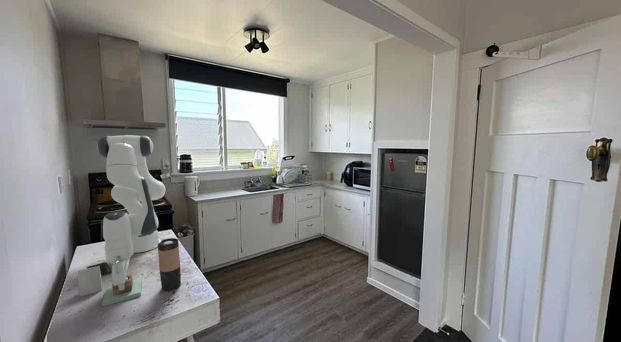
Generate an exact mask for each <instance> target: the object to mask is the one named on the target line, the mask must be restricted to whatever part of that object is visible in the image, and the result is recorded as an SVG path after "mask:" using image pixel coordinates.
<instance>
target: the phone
mask: <svg viewBox="0 0 621 342" xmlns="http://www.w3.org/2000/svg"><path fill="white" fill-rule="evenodd" d="M97 266H100V271H101V278H102V277H105V276H108V275H111V274H112V269H111V268H110V266H109V263H108V262H107V261H103V262H100V263H97V264H92V265H89V266H86V269H88V268H92V267H97Z"/></svg>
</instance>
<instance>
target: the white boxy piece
mask: <svg viewBox="0 0 621 342" xmlns="http://www.w3.org/2000/svg"><path fill="white" fill-rule="evenodd" d="M77 281H78V284H77V285H78V289H79V297H83V296H88V295H90V294H94V293H98V292H100V291H103V280H102V277H101V271H100V266H97V267H92V268H88V269H87V268H84V269H81V270H77Z"/></svg>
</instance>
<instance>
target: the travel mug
mask: <svg viewBox="0 0 621 342" xmlns="http://www.w3.org/2000/svg"><path fill="white" fill-rule="evenodd" d="M157 251H158V252H157V253H158V266H159V267H158V268H159V277H160V278H159V279H160V284H161V290H162V292H171V291H175V290H177V289H179V288H180V287H181V284H182V283H181V281H182V280H181V279H182V277H181V274H182V273H181V259H180V258H181V257H180V247H179V239H178V238H174V237H173V238H172V237H171V238H170V237H169V238H166V239H165V238H164V239H162V240H161V242H160V243H158V247H157Z"/></svg>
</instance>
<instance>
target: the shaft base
mask: <svg viewBox="0 0 621 342" xmlns="http://www.w3.org/2000/svg"><path fill="white" fill-rule="evenodd" d="M126 280H128V277H127V278H126ZM142 281H143V280H142V278H140V279H139V278H138V279H134V280H133V285H132V290H130V291H126V292H122V293H118V294H115V295H113V289H112V285H111V286H108V287H106V288H105V292H104V295H103V299H102V302H101V305H102V307H106V306H109V305H113V304H117V303H120V302H123V301H127V300H132V299H134V298H139V297H141V296H142V287H143V286H142V284H143V282H142Z"/></svg>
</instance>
